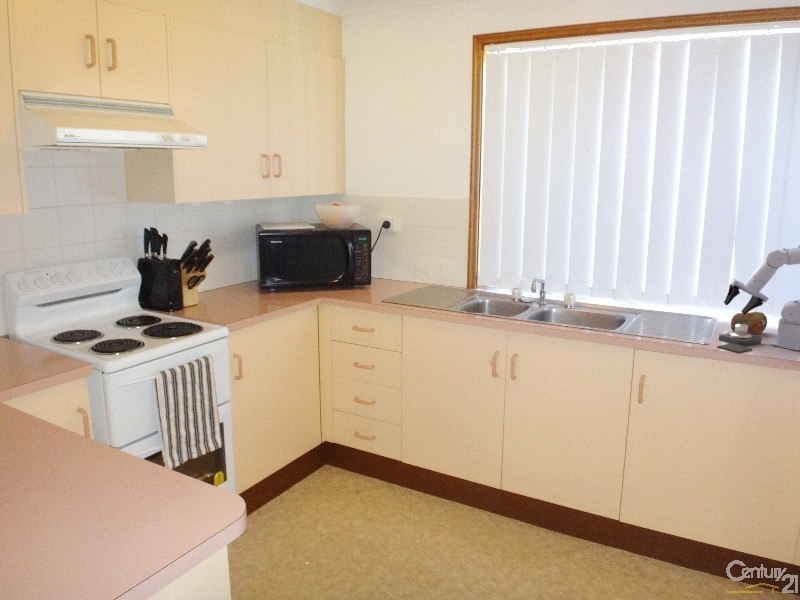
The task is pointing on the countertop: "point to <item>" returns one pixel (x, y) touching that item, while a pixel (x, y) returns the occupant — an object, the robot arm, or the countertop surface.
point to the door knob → (741, 332)
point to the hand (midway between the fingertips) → (734, 308)
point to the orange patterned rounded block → (750, 322)
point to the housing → (740, 340)
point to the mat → (734, 348)
